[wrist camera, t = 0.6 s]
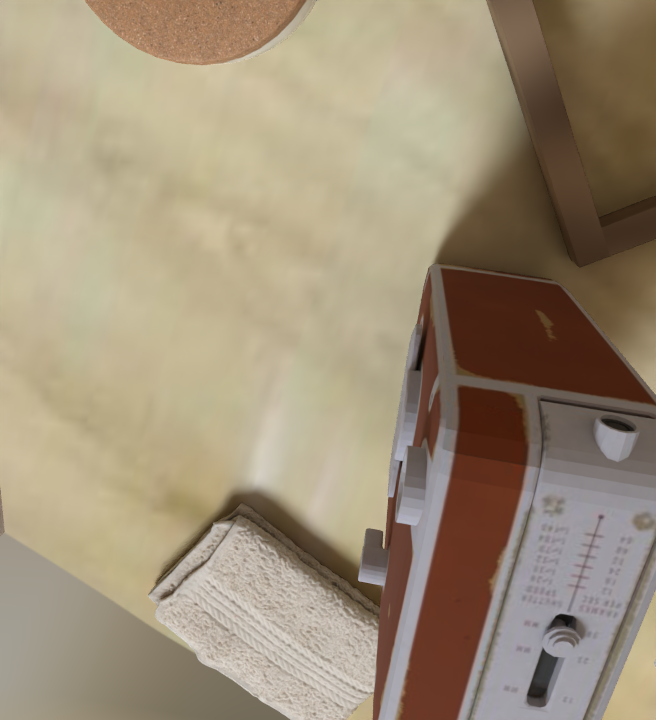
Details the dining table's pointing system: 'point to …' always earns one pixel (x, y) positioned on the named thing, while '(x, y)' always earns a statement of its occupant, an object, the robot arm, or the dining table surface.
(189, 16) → the lidded jar
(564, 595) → the cine camera
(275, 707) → the washcloth
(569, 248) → the brown wooden tray
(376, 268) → the dining table surface
